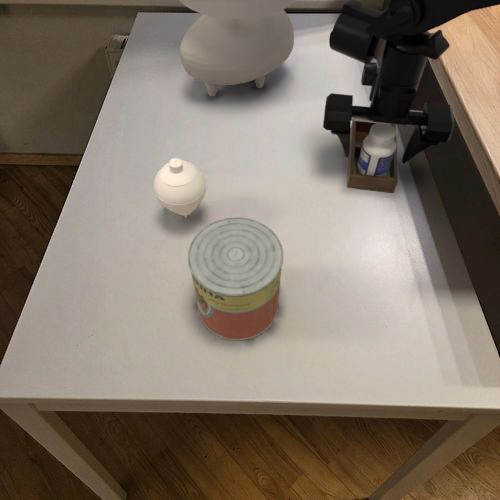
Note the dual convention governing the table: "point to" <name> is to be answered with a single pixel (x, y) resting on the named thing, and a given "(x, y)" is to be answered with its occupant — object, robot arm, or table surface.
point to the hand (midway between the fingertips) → (374, 158)
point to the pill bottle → (377, 151)
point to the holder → (356, 140)
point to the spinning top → (180, 186)
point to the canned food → (236, 277)
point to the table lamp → (236, 41)
